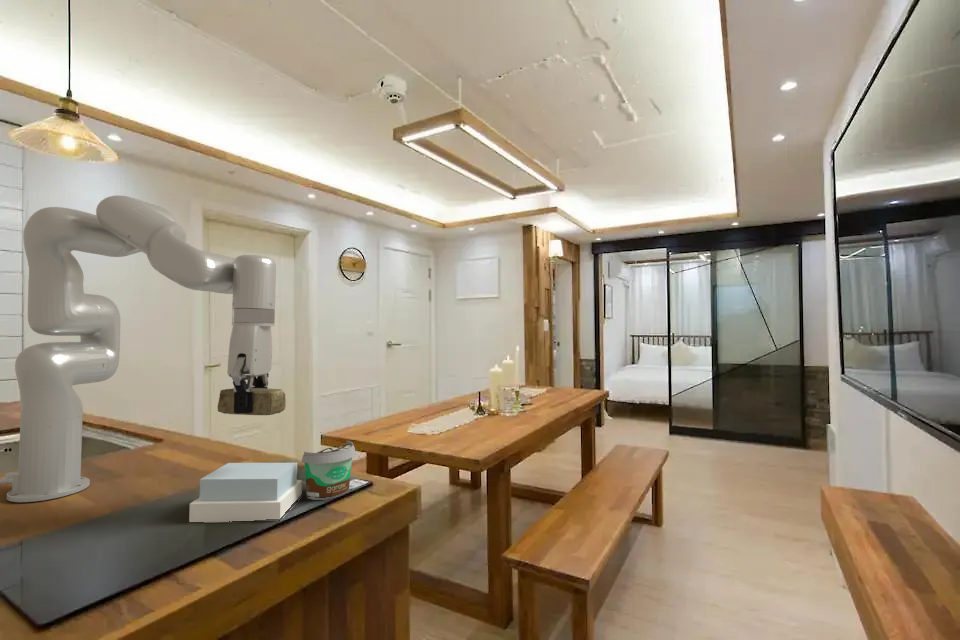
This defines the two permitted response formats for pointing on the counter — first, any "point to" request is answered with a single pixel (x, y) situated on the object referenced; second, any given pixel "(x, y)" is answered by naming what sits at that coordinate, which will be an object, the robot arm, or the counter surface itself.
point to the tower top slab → (248, 482)
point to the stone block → (255, 401)
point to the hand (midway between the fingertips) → (251, 408)
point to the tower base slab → (243, 508)
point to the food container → (328, 471)
